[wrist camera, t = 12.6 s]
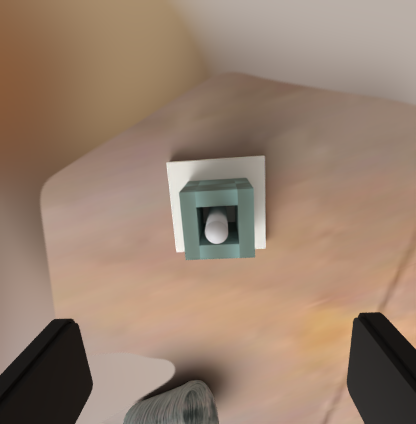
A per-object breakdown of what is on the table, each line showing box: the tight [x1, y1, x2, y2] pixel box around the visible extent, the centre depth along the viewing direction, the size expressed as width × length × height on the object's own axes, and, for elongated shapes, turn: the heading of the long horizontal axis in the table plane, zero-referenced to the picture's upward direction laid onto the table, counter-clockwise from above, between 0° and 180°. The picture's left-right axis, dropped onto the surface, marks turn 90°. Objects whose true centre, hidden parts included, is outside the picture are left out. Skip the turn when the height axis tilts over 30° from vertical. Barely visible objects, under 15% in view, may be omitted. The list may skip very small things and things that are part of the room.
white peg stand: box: [166, 155, 266, 252], centre depth 23 cm, size 10×10×10 cm
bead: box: [179, 178, 255, 260], centre depth 24 cm, size 6×6×6 cm
